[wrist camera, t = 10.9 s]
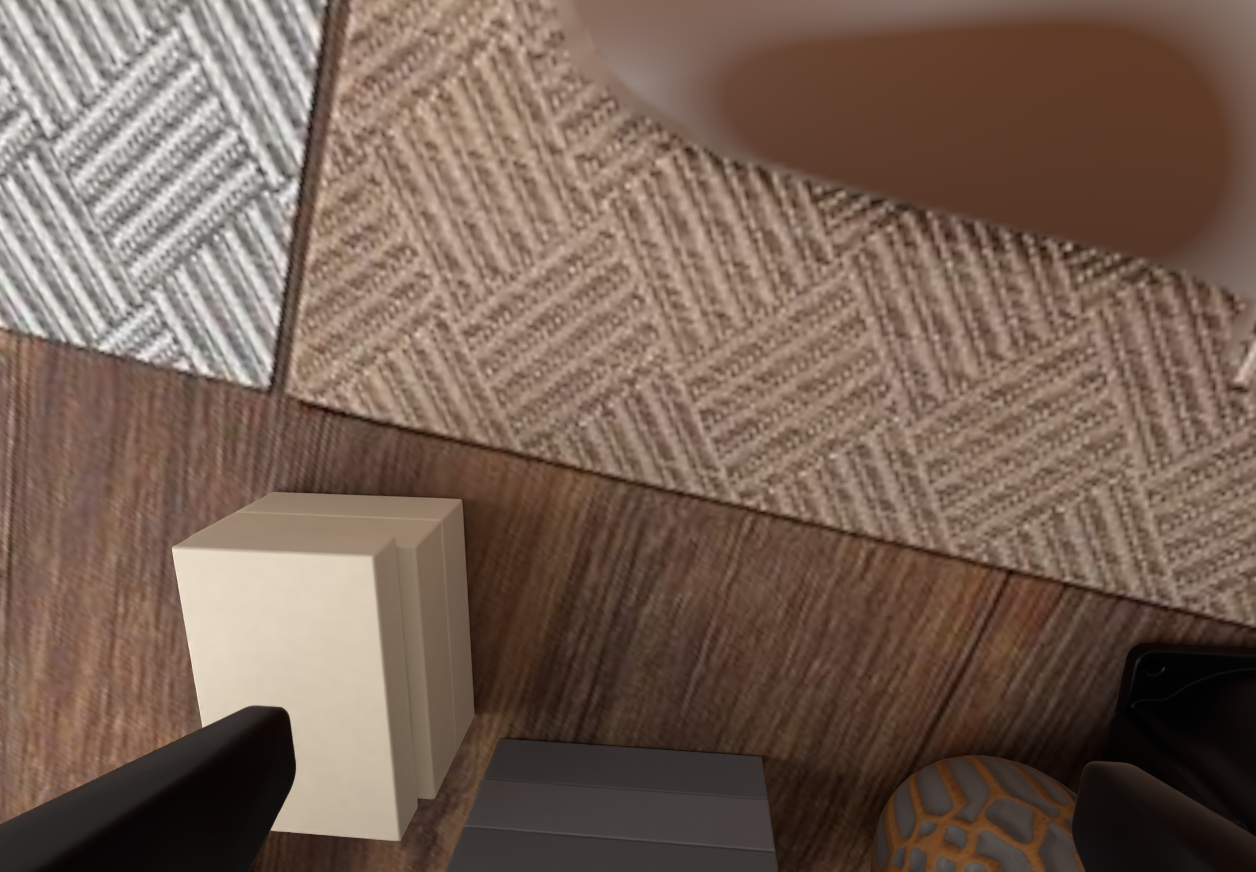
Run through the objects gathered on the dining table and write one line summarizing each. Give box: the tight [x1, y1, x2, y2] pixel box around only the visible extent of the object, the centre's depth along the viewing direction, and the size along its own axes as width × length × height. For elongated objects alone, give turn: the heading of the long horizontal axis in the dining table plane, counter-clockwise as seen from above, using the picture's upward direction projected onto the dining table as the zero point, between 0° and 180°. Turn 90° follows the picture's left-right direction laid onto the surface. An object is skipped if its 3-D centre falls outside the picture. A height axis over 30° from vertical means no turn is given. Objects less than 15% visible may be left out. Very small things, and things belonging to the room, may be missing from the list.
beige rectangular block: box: [190, 492, 475, 799], centre depth 20 cm, size 6×8×4 cm
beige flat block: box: [172, 529, 418, 841], centre depth 17 cm, size 8×5×1 cm, turn 0°
